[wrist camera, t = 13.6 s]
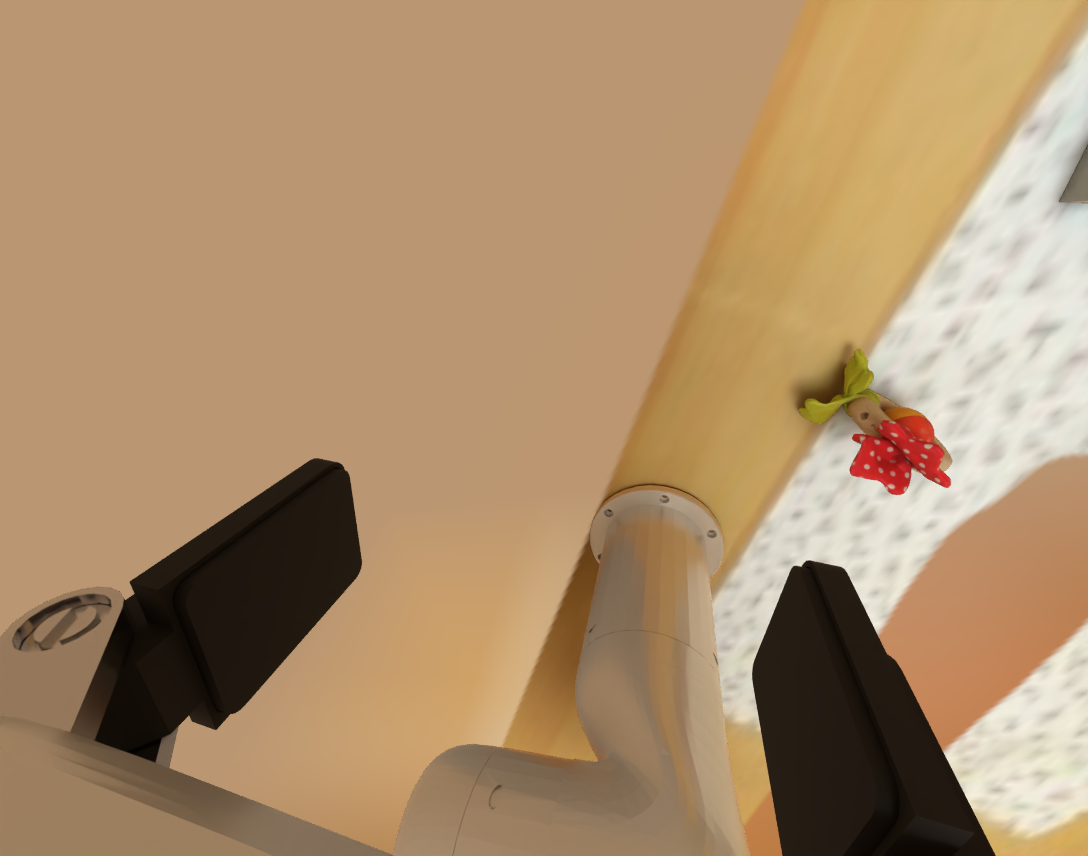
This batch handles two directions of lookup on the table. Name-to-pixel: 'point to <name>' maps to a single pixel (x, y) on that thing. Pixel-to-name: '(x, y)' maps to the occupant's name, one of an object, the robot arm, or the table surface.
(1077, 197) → the tray
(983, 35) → the table surface
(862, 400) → the bird rattle
